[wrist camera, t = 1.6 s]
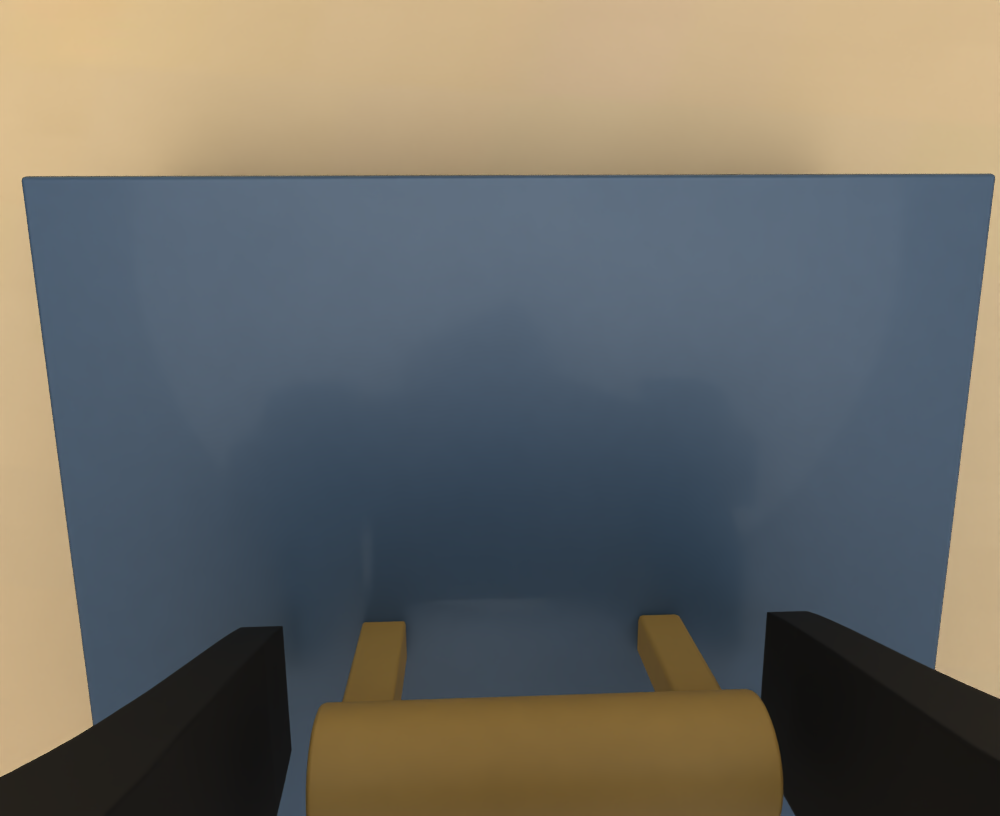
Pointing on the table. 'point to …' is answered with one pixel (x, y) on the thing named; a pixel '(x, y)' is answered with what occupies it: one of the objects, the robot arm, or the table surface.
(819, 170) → the table surface
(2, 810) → the robot arm
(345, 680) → the lid
